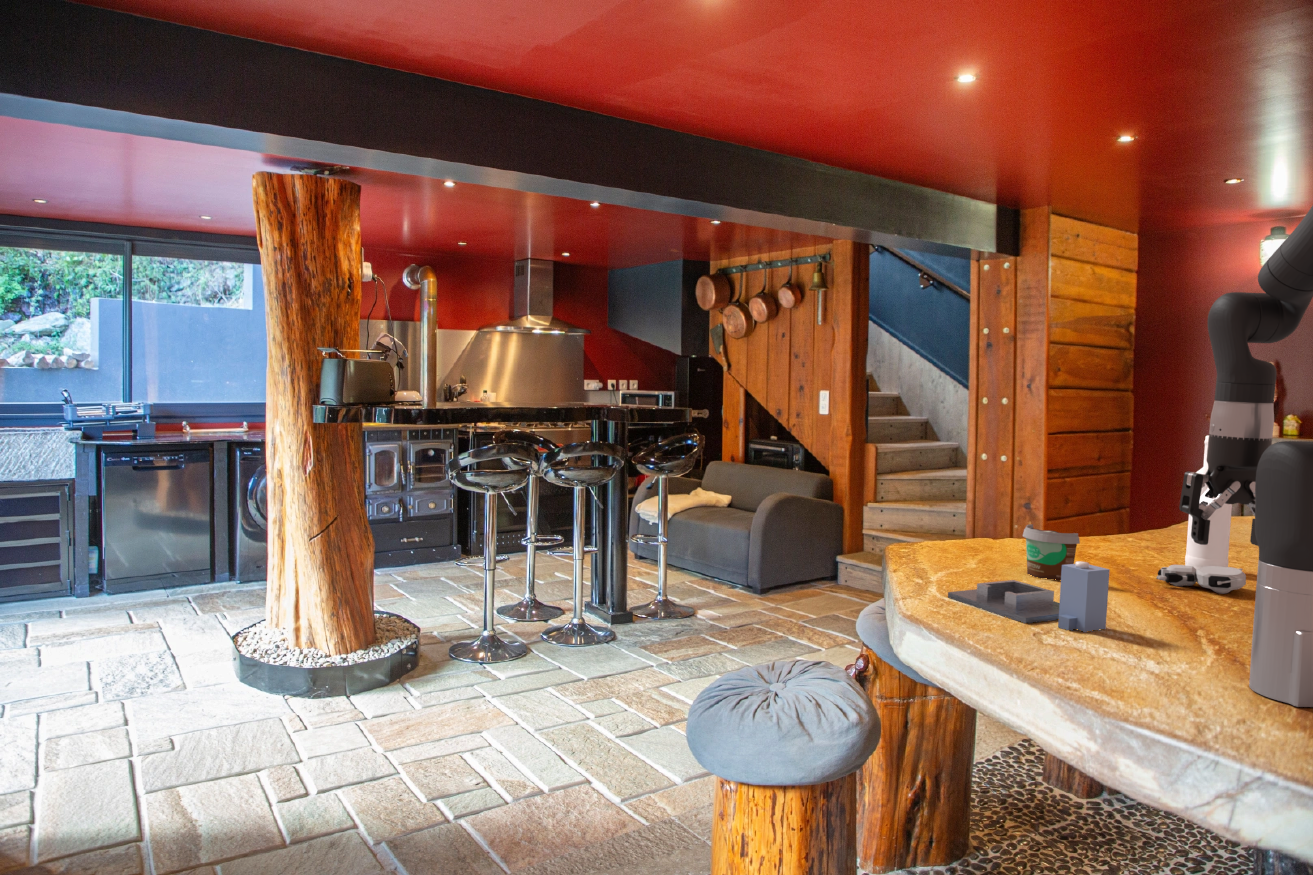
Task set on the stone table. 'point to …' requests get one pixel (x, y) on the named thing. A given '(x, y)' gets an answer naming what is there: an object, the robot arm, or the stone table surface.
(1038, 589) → the plate
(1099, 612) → the block
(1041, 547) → the food container
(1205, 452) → the bottle
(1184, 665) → the stone table surface
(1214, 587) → the robot toy
